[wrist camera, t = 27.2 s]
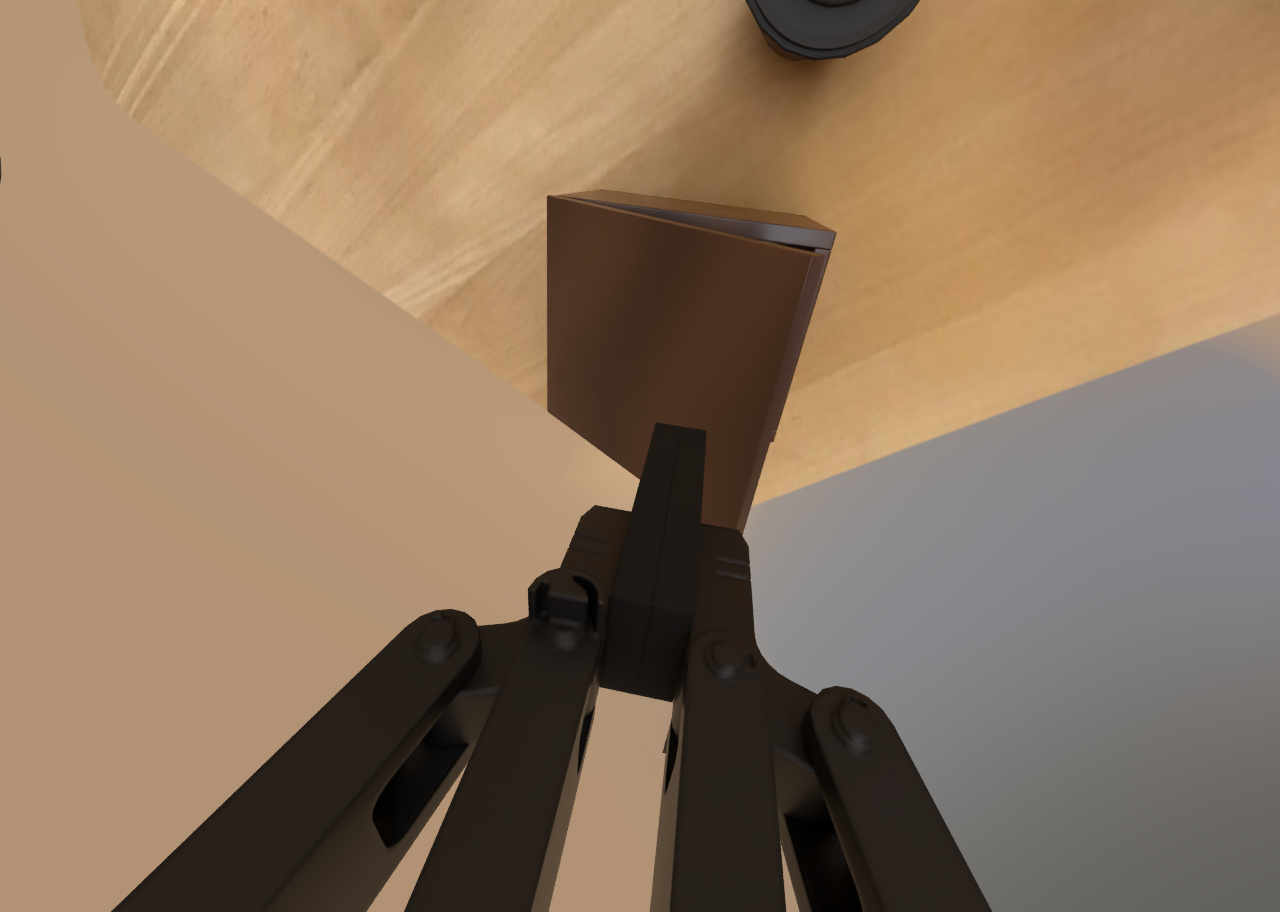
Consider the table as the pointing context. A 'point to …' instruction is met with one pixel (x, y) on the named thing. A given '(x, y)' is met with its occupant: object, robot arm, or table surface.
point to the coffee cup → (826, 25)
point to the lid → (673, 339)
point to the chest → (730, 231)
